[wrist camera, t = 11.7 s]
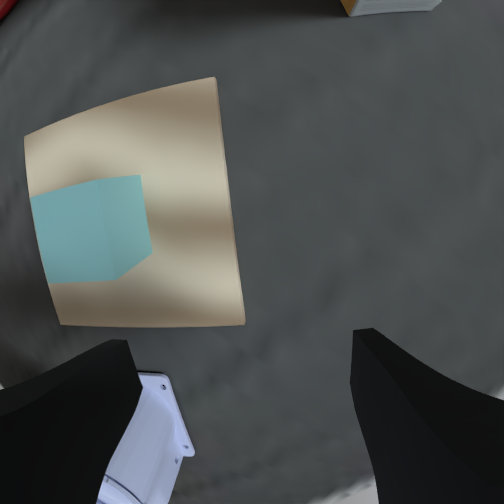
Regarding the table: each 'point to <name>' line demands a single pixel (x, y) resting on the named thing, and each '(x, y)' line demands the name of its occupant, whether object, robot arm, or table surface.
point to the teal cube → (92, 229)
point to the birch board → (151, 206)
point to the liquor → (6, 7)
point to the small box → (386, 6)
